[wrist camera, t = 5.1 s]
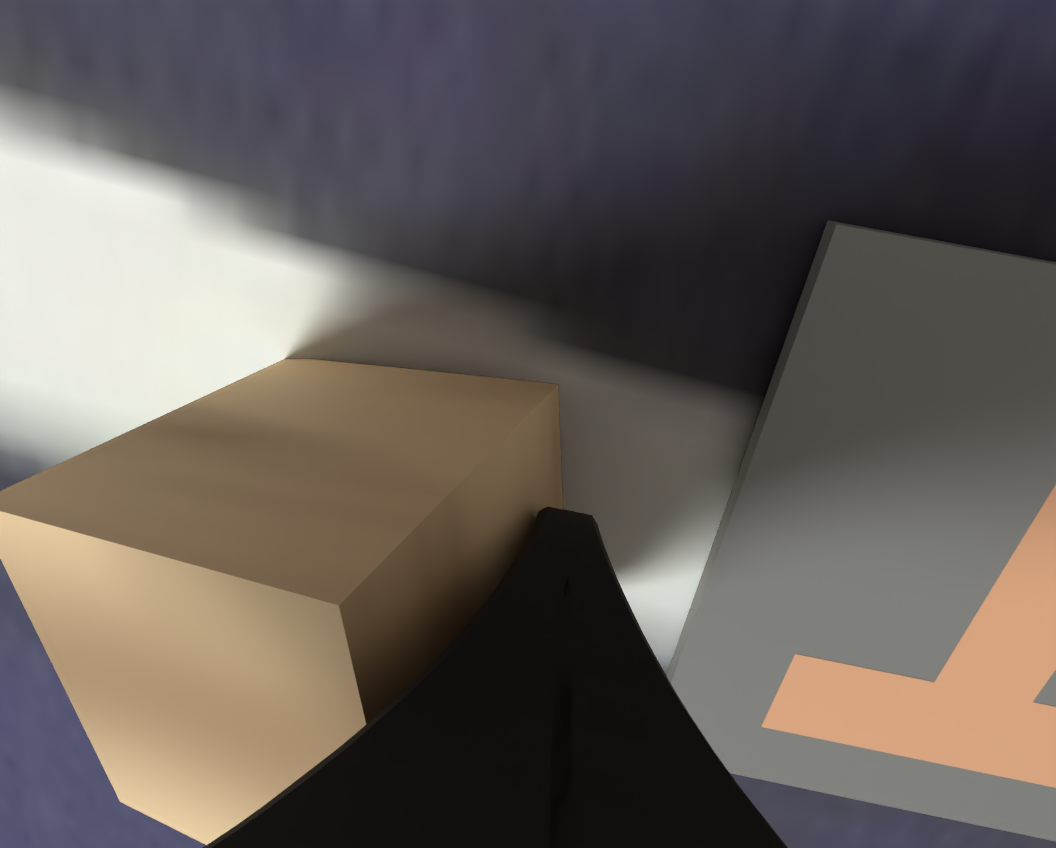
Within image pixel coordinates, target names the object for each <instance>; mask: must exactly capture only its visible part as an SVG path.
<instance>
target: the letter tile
mask: <svg viewBox="0 0 1056 848" xmlns="http://www.w3.org/2000/svg"><path fill="white" fill-rule="evenodd" d="M666 676H667V678H668V680H669V682H670V683H671V685H672V687H673V688H674V690H675V692H676V693H677V695H678V697H679V698H680V700H681V701H682V703H683V705H684V706H685V708H686V709H687V711H688V713H689V714H690V716H691V717H692V719H693V720H694V722H695V723H696V725H697V726H698V728H699V729H700V731H701V732H702V734H703V735H704V737H705V738H706V740H707V741H708V743H709V744H710V746H711V747H712V749H713V750H714V752H715V753H716V755H717V756H718V758H719V759H720V760H721V762H722V763H723V764H724V766H725V767H726V769H727V770H728V771H729V773H732V774H737V775H742V776H746V777H751V778H756V779H761V780H766V781H770V782H775V783H780V784H785V785H789V786H794V787H799V788H804V789H808V790H813V791H818V792H823V793H827V794H832V795H837V796H842V797H847V798H851V799H856V800H861V801H866V802H870V803H875V804H880V805H885V806H889V807H894V808H899V809H904V810H909V811H913V812H918V813H923V814H928V815H932V816H937V817H942V818H947V819H951V820H956V821H961V822H966V823H970V824H975V825H980V826H985V827H990V828H994V829H999V830H1004V831H1009V832H1013V833H1018V834H1023V835H1028V836H1032V837H1037V838H1042V839H1047V840H1051V841H1056V262H1053V261H1047V260H1042V259H1036V258H1031V257H1026V256H1020V255H1015V254H1009V253H1004V252H998V251H993V250H987V249H982V248H976V247H971V246H965V245H960V244H955V243H949V242H944V241H938V240H933V239H927V238H922V237H916V236H911V235H905V234H900V233H894V232H889V231H883V230H878V229H873V228H867V227H862V226H856V225H851V224H845V223H840V222H834V221H829V220H828V221H827V224H826V226H825V229H824V232H823V235H822V238H821V240H820V243H819V246H818V249H817V252H816V255H815V257H814V260H813V263H812V266H811V269H810V272H809V274H808V277H807V280H806V283H805V286H804V288H803V291H802V294H801V297H800V300H799V303H798V305H797V308H796V311H795V314H794V317H793V320H792V322H791V325H790V328H789V331H788V334H787V336H786V339H785V342H784V345H783V348H782V351H781V353H780V356H779V359H778V362H777V365H776V368H775V370H774V373H773V376H772V379H771V382H770V384H769V387H768V390H767V393H766V396H765V399H764V401H763V404H762V407H761V410H760V413H759V416H758V418H757V421H756V424H755V427H754V430H753V432H752V435H751V438H750V441H749V444H748V447H747V449H746V452H745V455H744V458H743V461H742V464H741V466H740V469H739V472H738V475H737V478H736V480H735V483H734V486H733V489H732V492H731V495H730V497H729V500H728V503H727V506H726V509H725V512H724V514H723V517H722V520H721V523H720V526H719V528H718V531H717V534H716V537H715V540H714V543H713V545H712V548H711V551H710V554H709V557H708V560H707V562H706V565H705V568H704V571H703V574H702V576H701V579H700V582H699V585H698V588H697V591H696V593H695V596H694V599H693V602H692V605H691V608H690V610H689V613H688V616H687V619H686V622H685V624H684V627H683V630H682V633H681V636H680V639H679V641H678V644H677V647H676V650H675V653H674V656H673V658H672V661H671V664H670V667H669V670H668V672H667V675H666Z"/></svg>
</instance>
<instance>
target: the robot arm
mask: <svg viewBox="0 0 1056 848" xmlns="http://www.w3.org/2000/svg"><path fill="white" fill-rule="evenodd" d="M203 848H788V847H787V846H786V845H785V844H784V842H783V841H782V840H781V839H780V837H779V836H778V835H777V834H776V832H775V831H774V830H773V829H772V827H771V826H770V825H769V824H768V822H767V821H766V820H765V819H764V817H763V816H762V815H761V814H760V812H759V811H758V810H757V809H756V807H755V806H754V805H753V804H752V802H751V801H750V800H749V799H748V797H747V796H746V795H745V794H744V792H743V791H742V790H741V788H740V787H739V785H738V784H737V783H736V781H735V780H734V778H733V777H732V776H731V774H730V773H729V771H728V770H727V769H726V767H725V766H724V764H723V763H722V762H721V760H720V759H719V758H718V756H717V755H716V753H715V752H714V750H713V749H712V747H711V746H710V744H709V743H708V741H707V740H706V738H705V737H704V735H703V734H702V732H701V731H700V729H699V728H698V726H697V725H696V723H695V722H694V720H693V719H692V717H691V716H690V714H689V713H688V711H687V709H686V708H685V706H684V705H683V703H682V701H681V700H680V698H679V697H678V695H677V693H676V692H675V690H674V688H673V687H672V685H671V683H670V682H669V680H668V678H667V676H666V674H665V673H664V671H663V669H662V667H661V666H660V664H659V662H658V660H657V658H656V657H655V655H654V653H653V651H652V649H651V648H650V646H649V644H648V642H647V640H646V638H645V636H644V634H643V632H642V630H641V628H640V626H639V624H638V622H637V620H636V618H635V616H634V614H633V612H632V610H631V608H630V605H629V603H628V601H627V599H626V597H625V595H624V593H623V591H622V588H621V586H620V584H619V582H618V579H617V577H616V575H615V572H614V570H613V567H612V565H611V562H610V560H609V557H608V555H607V552H606V549H605V547H604V544H603V541H602V538H601V535H600V532H599V529H598V525H597V523H596V521H595V520H594V518H593V517H592V515H588V514H583V513H578V512H573V511H568V510H563V509H558V508H553V507H548V506H547V507H545V508H543V509H542V510H540V511H538V514H537V518H536V521H535V524H534V526H533V529H532V531H531V533H530V535H529V537H528V539H527V541H526V542H525V544H524V546H523V548H522V549H521V551H520V553H519V554H518V556H517V558H516V559H515V561H514V562H513V564H512V565H511V566H510V568H509V569H508V571H507V572H506V574H505V575H504V577H503V578H502V580H501V581H500V582H499V584H498V585H497V587H496V588H495V590H494V591H493V592H492V594H491V595H490V596H489V597H488V599H487V600H486V601H485V602H484V604H483V605H482V606H481V607H480V608H479V610H478V611H477V612H476V613H475V615H474V616H473V617H472V618H471V619H470V621H469V622H468V623H467V624H466V626H465V627H464V628H463V629H462V630H461V632H460V633H459V634H458V635H457V636H456V637H455V638H454V640H453V641H452V642H451V643H450V644H449V645H448V646H447V647H446V648H445V649H444V651H443V652H442V653H441V654H440V655H439V656H438V657H437V658H436V659H435V660H434V661H433V662H432V663H431V664H430V665H429V666H428V667H427V668H426V669H425V670H424V671H423V672H422V673H421V674H420V675H419V676H418V677H417V678H416V679H415V680H414V681H413V682H412V683H411V684H410V685H409V686H408V687H407V688H406V689H405V690H404V691H403V692H402V693H400V694H399V695H398V696H397V697H396V698H395V699H394V700H393V701H392V702H391V703H389V704H388V705H387V706H386V707H385V708H384V709H383V710H382V711H381V712H380V713H378V714H377V715H376V716H375V717H374V718H373V719H372V720H371V721H370V722H369V723H367V724H366V725H365V726H364V727H363V728H362V729H360V730H359V731H358V732H357V733H356V734H355V735H353V736H352V737H351V738H350V739H349V740H347V741H346V742H345V743H344V744H343V745H341V746H340V747H339V748H338V749H337V750H335V751H334V752H333V753H331V754H330V755H329V756H327V757H326V758H325V759H324V760H322V761H321V762H320V763H318V764H317V765H316V766H314V767H313V768H312V769H311V770H309V771H308V772H307V773H305V774H304V775H303V776H302V777H300V778H299V779H298V780H296V781H295V782H294V783H292V784H291V785H290V786H289V787H287V788H286V789H285V790H283V791H282V792H281V793H279V794H278V795H277V796H276V797H274V798H273V799H272V800H270V801H269V802H268V803H267V804H265V805H264V806H263V807H261V808H260V809H258V810H257V811H256V812H254V813H253V814H251V815H250V816H249V817H247V818H246V819H244V820H243V821H242V822H240V823H239V824H237V825H236V826H234V827H233V828H231V829H230V830H229V831H227V832H226V833H224V834H223V835H221V836H220V837H218V838H217V839H215V840H214V841H212V842H211V843H209V844H208V845H206V846H205V847H203Z"/></svg>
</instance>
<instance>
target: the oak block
mask: <svg viewBox="0 0 1056 848" xmlns="http://www.w3.org/2000/svg"><path fill="white" fill-rule="evenodd" d="M547 506H548V507H553V508H558V509H563V491H562V467H561V443H560V419H559V395H558V384H553V383H543V382H533V381H523V380H513V379H503V378H493V377H484V376H474V375H464V374H454V373H444V372H434V371H424V370H414V369H405V368H395V367H385V366H375V365H365V364H355V363H345V362H335V361H326V360H316V359H284V360H281V361H279V362H277V363H275V364H273V365H271V366H268V367H266V368H264V369H262V370H260V371H258V372H256V373H253V374H251V375H249V376H247V377H245V378H243V379H241V380H238V381H236V382H234V383H232V384H230V385H228V386H225V387H223V388H221V389H219V390H217V391H215V392H213V393H210V394H208V395H206V396H204V397H202V398H200V399H197V400H195V401H193V402H191V403H189V404H187V405H185V406H182V407H180V408H178V409H176V410H174V411H172V412H170V413H167V414H165V415H163V416H161V417H159V418H157V419H154V420H152V421H150V422H148V423H146V424H144V425H142V426H139V427H137V428H135V429H133V430H131V431H129V432H126V433H124V434H122V435H120V436H118V437H116V438H114V439H111V440H109V441H107V442H105V443H103V444H101V445H99V446H96V447H94V448H92V449H90V450H88V451H86V452H83V453H81V454H79V455H77V456H75V457H73V458H71V459H68V460H66V461H64V462H62V463H60V464H58V465H55V466H53V467H51V468H49V469H47V470H45V471H43V472H40V473H38V474H36V475H34V476H32V477H30V478H28V479H25V480H23V481H21V482H19V483H17V484H15V485H12V486H10V487H8V488H6V489H4V490H2V491H0V559H1V561H2V563H3V565H4V567H5V569H6V571H7V573H8V575H9V577H10V579H11V581H12V583H13V585H14V587H15V589H16V591H17V593H18V595H19V597H20V599H21V601H22V603H23V605H24V607H25V609H26V611H27V613H28V615H29V617H30V619H31V621H32V623H33V626H34V628H35V630H36V632H37V634H38V636H39V638H40V640H41V642H42V644H43V646H44V648H45V650H46V652H47V654H48V656H49V658H50V660H51V662H52V664H53V666H54V668H55V670H56V672H57V674H58V676H59V678H60V680H61V682H62V684H63V686H64V688H65V690H66V692H67V695H68V697H69V699H70V701H71V703H72V705H73V707H74V709H75V711H76V713H77V715H78V717H79V719H80V721H81V723H82V725H83V727H84V729H85V731H86V733H87V735H88V737H89V739H90V741H91V743H92V745H93V747H94V749H95V751H96V753H97V755H98V757H99V759H100V762H101V764H102V766H103V768H104V770H105V772H106V774H107V776H108V778H109V780H110V782H111V784H112V786H113V788H114V790H115V792H116V794H117V796H118V798H119V800H120V802H122V803H124V804H126V805H128V806H130V807H132V808H134V809H136V810H138V811H140V812H142V813H144V814H146V815H148V816H150V817H152V818H154V819H156V820H158V821H160V822H162V823H164V824H166V825H168V826H170V827H172V828H174V829H176V830H178V831H180V832H182V833H184V834H186V835H188V836H190V837H192V838H194V839H196V840H198V841H200V842H202V843H204V844H206V845H208V844H209V843H211V842H212V841H214V840H215V839H217V838H218V837H220V836H221V835H223V834H224V833H226V832H227V831H229V830H230V829H231V828H233V827H234V826H236V825H237V824H239V823H240V822H242V821H243V820H244V819H246V818H247V817H249V816H250V815H251V814H253V813H254V812H256V811H257V810H258V809H260V808H261V807H263V806H264V805H265V804H267V803H268V802H269V801H270V800H272V799H273V798H274V797H276V796H277V795H278V794H279V793H281V792H282V791H283V790H285V789H286V788H287V787H289V786H290V785H291V784H292V783H294V782H295V781H296V780H298V779H299V778H300V777H302V776H303V775H304V774H305V773H307V772H308V771H309V770H311V769H312V768H313V767H314V766H316V765H317V764H318V763H320V762H321V761H322V760H324V759H325V758H326V757H327V756H329V755H330V754H331V753H333V752H334V751H335V750H337V749H338V748H339V747H340V746H341V745H343V744H344V743H345V742H346V741H347V740H349V739H350V738H351V737H352V736H353V735H355V734H356V733H357V732H358V731H359V730H360V729H362V728H363V727H364V726H365V725H366V724H367V723H369V722H370V721H371V720H372V719H373V718H374V717H375V716H376V715H377V714H378V713H380V712H381V711H382V710H383V709H384V708H385V707H386V706H387V705H388V704H389V703H391V702H392V701H393V700H394V699H395V698H396V697H397V696H398V695H399V694H400V693H402V692H403V691H404V690H405V689H406V688H407V687H408V686H409V685H410V684H411V683H412V682H413V681H414V680H415V679H416V678H417V677H418V676H419V675H420V674H421V673H422V672H423V671H424V670H425V669H426V668H427V667H428V666H429V665H430V664H431V663H432V662H433V661H434V660H435V659H436V658H437V657H438V656H439V655H440V654H441V653H442V652H443V651H444V649H445V648H446V647H447V646H448V645H449V644H450V643H451V642H452V641H453V640H454V638H455V637H456V636H457V635H458V634H459V633H460V632H461V630H462V629H463V628H464V627H465V626H466V624H467V623H468V622H469V621H470V619H471V618H472V617H473V616H474V615H475V613H476V612H477V611H478V610H479V608H480V607H481V606H482V605H483V604H484V602H485V601H486V600H487V599H488V597H489V596H490V595H491V594H492V592H493V591H494V590H495V588H496V587H497V585H498V584H499V582H500V581H501V580H502V578H503V577H504V575H505V574H506V572H507V571H508V569H509V568H510V566H511V565H512V564H513V562H514V561H515V559H516V558H517V556H518V554H519V553H520V551H521V549H522V548H523V546H524V544H525V542H526V541H527V539H528V537H529V535H530V533H531V531H532V529H533V526H534V524H535V521H536V518H537V514H538V511H540V510H542V509H543V508H545V507H547Z"/></svg>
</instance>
